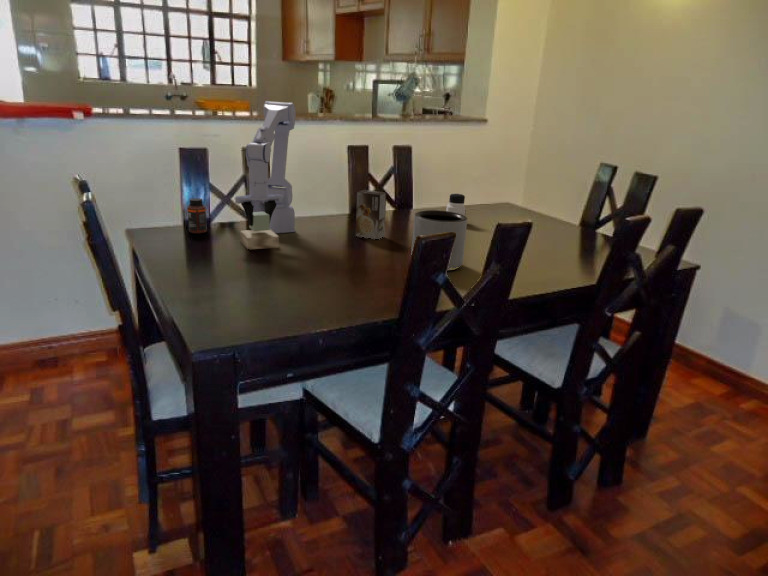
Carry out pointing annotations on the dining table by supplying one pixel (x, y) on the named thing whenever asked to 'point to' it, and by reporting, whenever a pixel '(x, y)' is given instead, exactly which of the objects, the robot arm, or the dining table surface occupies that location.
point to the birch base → (259, 239)
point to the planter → (442, 230)
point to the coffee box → (370, 214)
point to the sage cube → (260, 221)
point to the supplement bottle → (197, 216)
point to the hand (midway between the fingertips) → (259, 224)
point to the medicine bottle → (456, 204)
